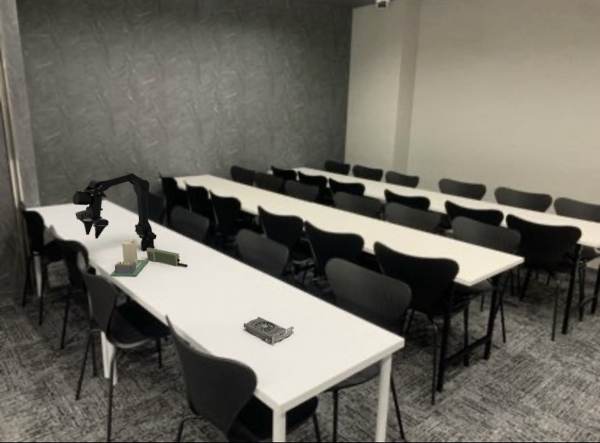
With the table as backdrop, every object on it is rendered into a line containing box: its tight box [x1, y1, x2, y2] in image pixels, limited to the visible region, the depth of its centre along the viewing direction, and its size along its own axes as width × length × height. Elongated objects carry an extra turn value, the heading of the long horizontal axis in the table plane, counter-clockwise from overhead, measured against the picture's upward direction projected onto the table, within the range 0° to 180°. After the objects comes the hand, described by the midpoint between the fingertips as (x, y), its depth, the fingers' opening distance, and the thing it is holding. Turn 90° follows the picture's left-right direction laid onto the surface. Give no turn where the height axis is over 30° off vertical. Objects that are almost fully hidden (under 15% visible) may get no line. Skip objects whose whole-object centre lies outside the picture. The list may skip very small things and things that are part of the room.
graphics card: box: [243, 316, 295, 347], centre depth 170 cm, size 17×4×12 cm
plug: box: [121, 239, 138, 265], centre depth 226 cm, size 5×5×13 cm
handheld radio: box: [146, 248, 188, 268], centre depth 235 cm, size 7×3×25 cm
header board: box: [110, 259, 149, 278], centre depth 226 cm, size 20×12×6 cm, turn 1°
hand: (91, 236), depth 226 cm, fingers open, 9 cm apart
